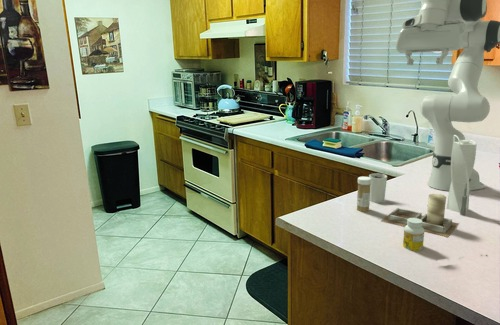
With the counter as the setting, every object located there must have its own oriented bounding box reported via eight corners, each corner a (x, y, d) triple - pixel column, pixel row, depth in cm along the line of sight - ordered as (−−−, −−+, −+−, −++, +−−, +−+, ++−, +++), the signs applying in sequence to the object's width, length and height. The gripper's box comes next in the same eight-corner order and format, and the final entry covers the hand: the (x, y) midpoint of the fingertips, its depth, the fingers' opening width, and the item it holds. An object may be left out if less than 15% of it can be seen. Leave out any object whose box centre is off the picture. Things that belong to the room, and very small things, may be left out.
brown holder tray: (380, 225, 134) (380, 216, 134) (394, 213, 144) (395, 204, 143) (447, 242, 121) (448, 231, 120) (458, 227, 131) (459, 218, 130)
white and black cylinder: (364, 200, 158) (365, 176, 155) (373, 196, 162) (374, 172, 160) (380, 204, 153) (381, 179, 151) (388, 199, 158) (390, 175, 155)
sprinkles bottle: (354, 211, 147) (355, 176, 143) (366, 210, 147) (368, 175, 144) (358, 216, 142) (360, 180, 139) (371, 215, 143) (373, 179, 139)
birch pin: (437, 222, 132) (439, 193, 130) (446, 228, 127) (449, 198, 125) (423, 223, 131) (425, 194, 129) (431, 229, 127) (434, 199, 124)
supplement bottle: (425, 255, 114) (428, 224, 111) (406, 255, 114) (409, 224, 111) (417, 246, 119) (420, 216, 116) (399, 247, 119) (402, 216, 117)
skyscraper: (439, 213, 143) (447, 136, 136) (449, 207, 148) (457, 132, 141) (463, 220, 137) (473, 139, 130) (474, 213, 142) (483, 136, 135)
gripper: (468, 23, 127) (460, 66, 127) (404, 29, 141) (398, 67, 141) (463, 15, 123) (455, 60, 123) (397, 22, 136) (390, 62, 136)
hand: (424, 64), depth 132 cm, fingers open, 8 cm apart
